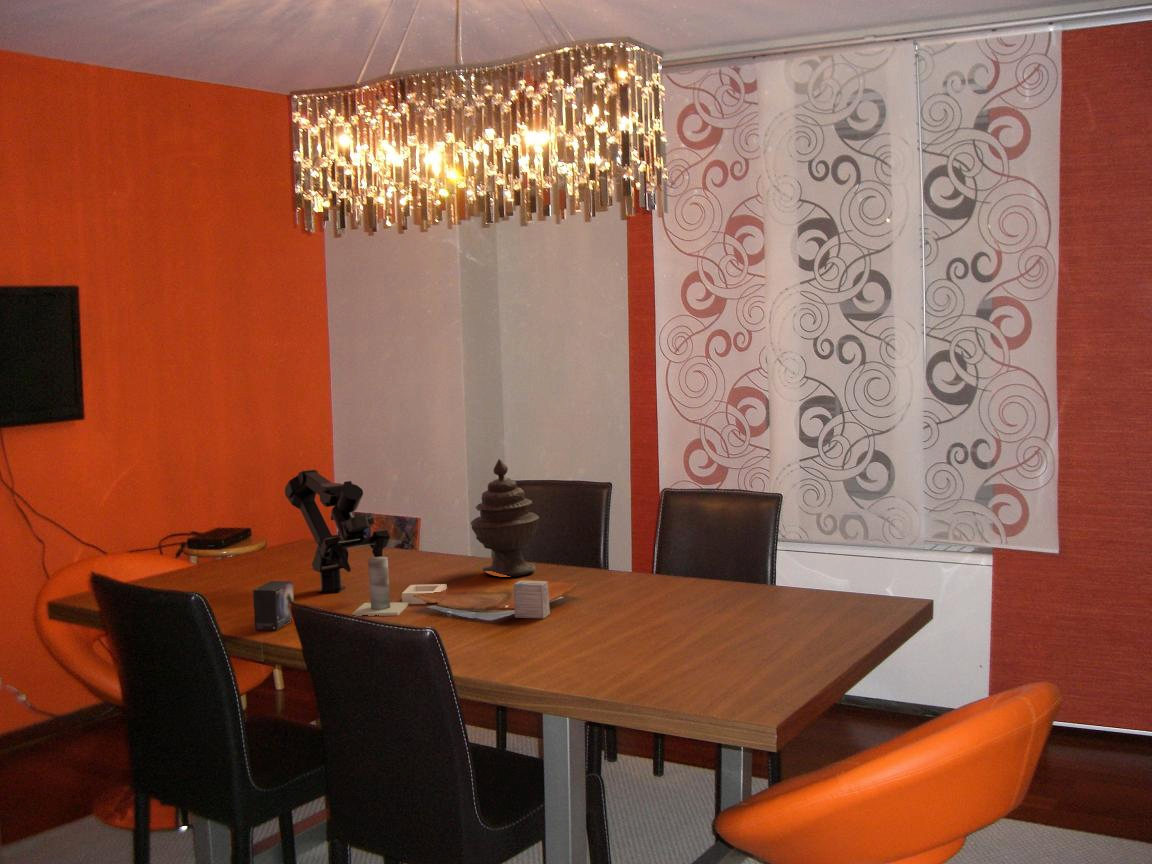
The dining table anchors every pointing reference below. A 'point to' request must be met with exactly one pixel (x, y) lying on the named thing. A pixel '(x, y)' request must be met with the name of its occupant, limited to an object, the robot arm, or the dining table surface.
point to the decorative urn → (505, 524)
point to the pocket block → (420, 592)
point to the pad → (392, 611)
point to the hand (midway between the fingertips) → (365, 568)
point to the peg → (379, 583)
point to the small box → (272, 605)
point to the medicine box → (531, 599)
